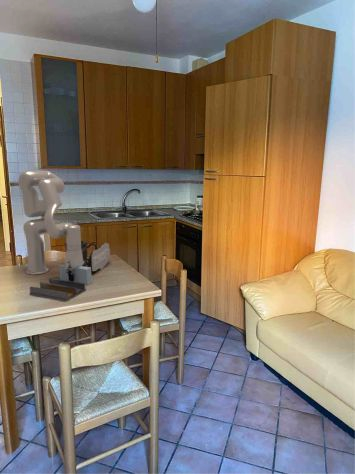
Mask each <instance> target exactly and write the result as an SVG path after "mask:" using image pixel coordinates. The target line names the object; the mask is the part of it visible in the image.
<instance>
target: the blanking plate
mask: <svg viewBox="0 0 355 474" xmlns="http://www.w3.org/2000/svg"><path fill="white" fill-rule="evenodd" d="M58 267H59V268H58V269H59V279H60V280H66V281H69V278H68V274H67V272H66V271H65V267H66V266H65V263H62V264H60V265H58ZM70 271H71V269H70ZM73 274H74V281H72V282H79V283H85V286H89V285H91V284H92V281H93V280H92V271H91V267H87V266H86V267H84V266H79V267H77V268H75V269H74V271H73Z"/></svg>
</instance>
